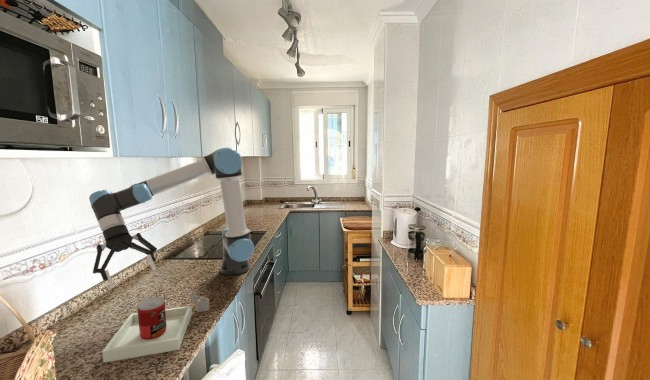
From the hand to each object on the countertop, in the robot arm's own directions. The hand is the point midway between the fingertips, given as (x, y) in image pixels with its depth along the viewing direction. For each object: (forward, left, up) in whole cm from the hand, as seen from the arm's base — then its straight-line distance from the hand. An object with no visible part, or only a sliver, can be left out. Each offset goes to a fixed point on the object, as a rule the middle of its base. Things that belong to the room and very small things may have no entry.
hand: (134, 278), depth 100 cm
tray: (-10, +14, -15) cm, 23 cm away
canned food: (-10, +14, -14) cm, 22 cm away
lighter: (-22, +2, -15) cm, 27 cm away
